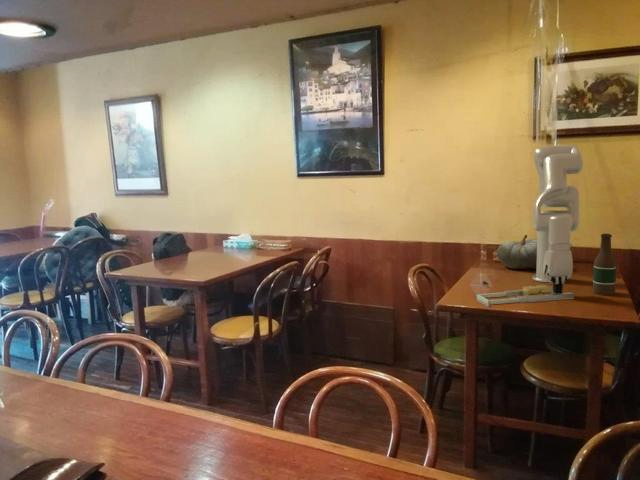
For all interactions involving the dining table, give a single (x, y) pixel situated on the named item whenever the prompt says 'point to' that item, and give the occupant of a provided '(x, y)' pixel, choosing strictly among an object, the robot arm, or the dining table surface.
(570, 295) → the slot board
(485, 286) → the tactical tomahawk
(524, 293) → the chip
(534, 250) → the gourd
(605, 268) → the beer bottle
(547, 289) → the chip
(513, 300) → the tray
